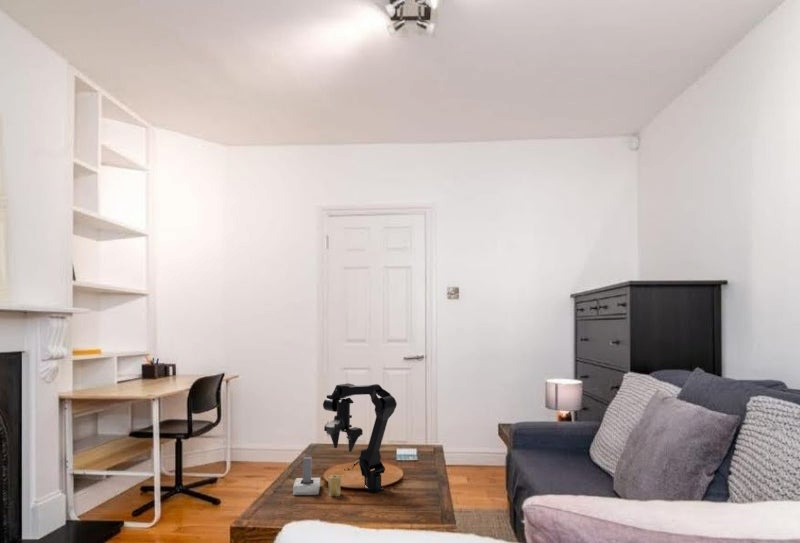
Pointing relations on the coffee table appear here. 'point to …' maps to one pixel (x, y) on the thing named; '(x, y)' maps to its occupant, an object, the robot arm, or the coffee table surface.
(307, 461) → the square bit
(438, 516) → the coffee table surface
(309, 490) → the bore block
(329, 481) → the cross bit
